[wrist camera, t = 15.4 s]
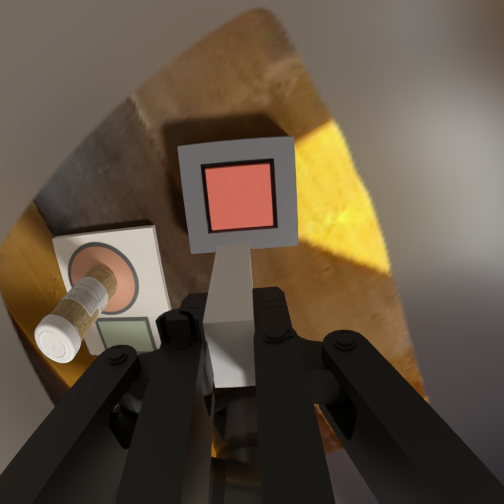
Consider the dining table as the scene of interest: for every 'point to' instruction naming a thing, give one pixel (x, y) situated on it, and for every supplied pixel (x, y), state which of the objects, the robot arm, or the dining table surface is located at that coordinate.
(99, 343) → the picture board
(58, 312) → the spice jar
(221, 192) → the button
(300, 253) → the dining table surface
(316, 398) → the robot arm
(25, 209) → the dining table surface
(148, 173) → the dining table surface
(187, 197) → the button housing
